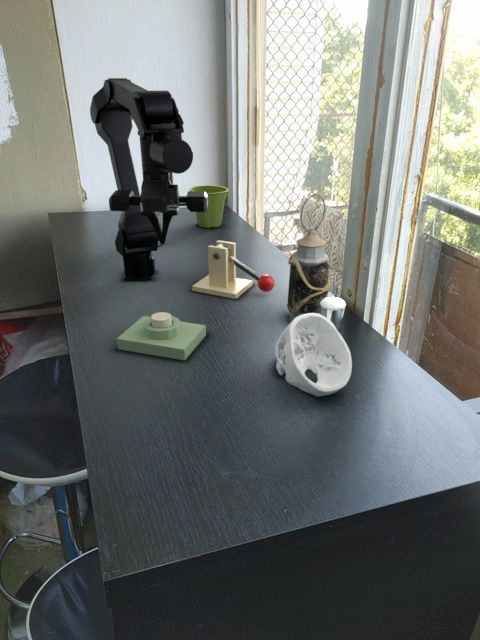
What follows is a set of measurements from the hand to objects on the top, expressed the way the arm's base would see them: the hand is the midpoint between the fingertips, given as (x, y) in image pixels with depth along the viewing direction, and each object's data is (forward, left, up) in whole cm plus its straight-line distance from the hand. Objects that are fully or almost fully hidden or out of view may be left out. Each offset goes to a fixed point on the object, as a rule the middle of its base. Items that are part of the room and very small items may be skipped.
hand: (162, 243), depth 107 cm
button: (+1, -19, -9) cm, 21 cm away
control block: (+1, -19, -13) cm, 23 cm away
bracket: (+12, +7, -13) cm, 19 cm away
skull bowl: (+26, -33, -13) cm, 44 cm away
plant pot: (+8, +59, -13) cm, 61 cm away
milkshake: (+32, -20, -13) cm, 40 cm away
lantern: (+29, -10, -13) cm, 33 cm away
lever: (+16, +5, -9) cm, 19 cm away
